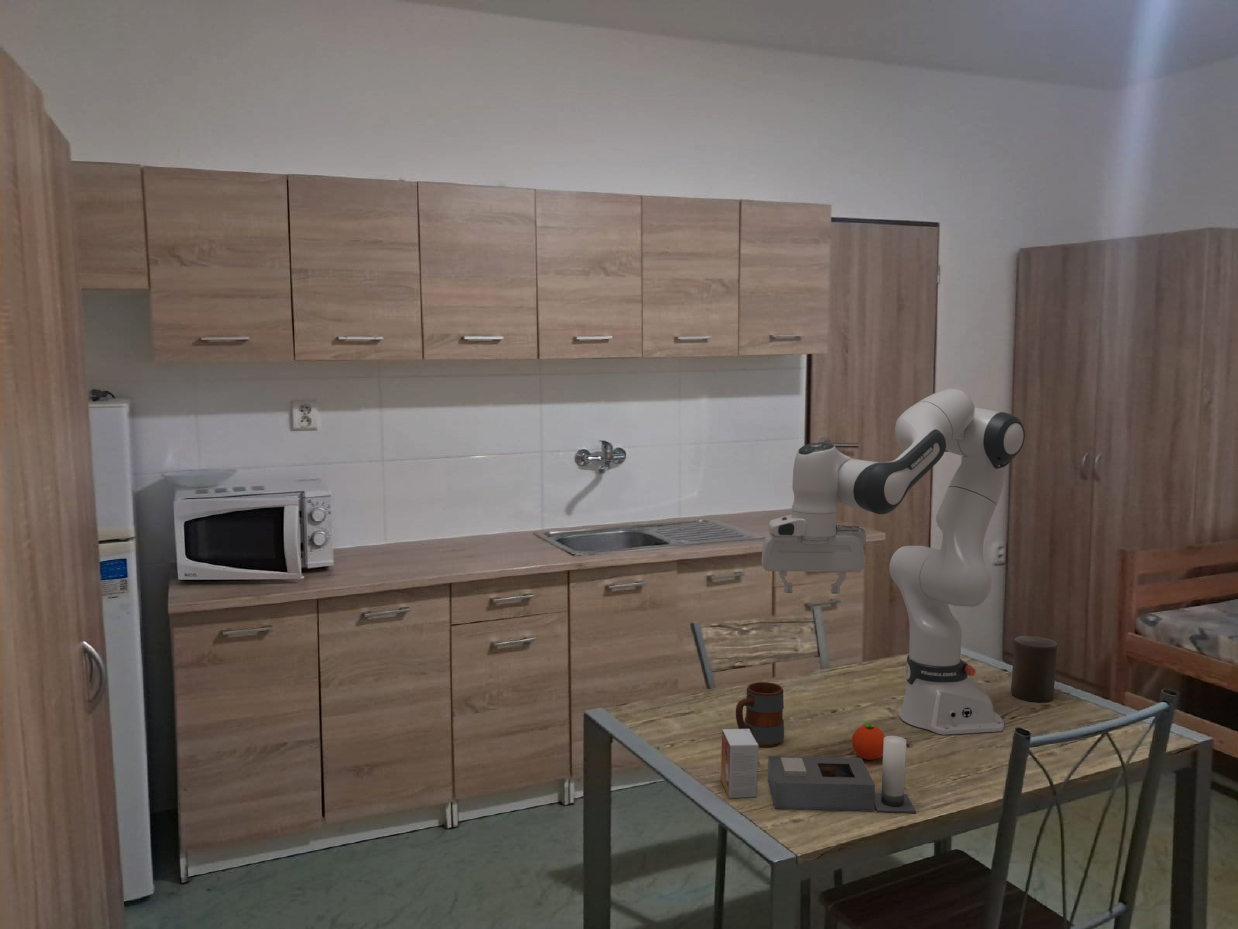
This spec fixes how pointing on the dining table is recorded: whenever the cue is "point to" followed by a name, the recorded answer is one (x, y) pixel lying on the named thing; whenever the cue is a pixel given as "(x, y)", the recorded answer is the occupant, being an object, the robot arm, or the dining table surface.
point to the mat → (883, 808)
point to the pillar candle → (1034, 669)
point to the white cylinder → (893, 771)
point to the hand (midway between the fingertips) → (811, 592)
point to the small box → (739, 763)
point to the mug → (763, 713)
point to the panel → (820, 783)
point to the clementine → (868, 742)
